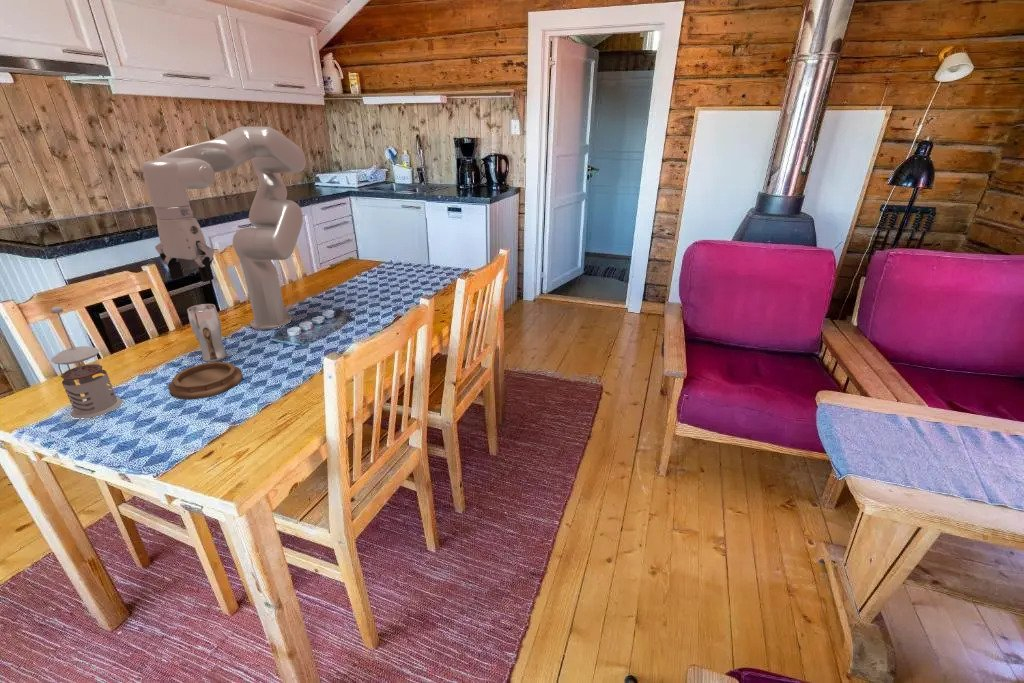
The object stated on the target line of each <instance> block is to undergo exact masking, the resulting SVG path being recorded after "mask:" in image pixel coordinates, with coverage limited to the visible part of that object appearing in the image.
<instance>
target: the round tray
mask: <svg viewBox="0 0 1024 683" xmlns="http://www.w3.org/2000/svg"><path fill="white" fill-rule="evenodd" d="M243 377H244V376H243V372H242V370H241V368H239V367H238V366H236V365H234V364H233V363H232V362H227V361H213V362H204V363H200V364H196V365H193V366H190V367H187V368H185V369H183V370H182V371H179V372H177V373H176V374H175V375H174V377H173V378H172V380H171V382H169V384H168V390H169V394H170V395H171V396H172V397H174V398H176V399H180V400H181V399H182V400H198V399H204V398H209V397H213V396H215V395H219V394H222V393H225V392H226V391H228V390H231V389H233V388H235V386H237V385H238V384H239V383H240V382H241V381H242V380H243Z"/></svg>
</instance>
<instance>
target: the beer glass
mask: <svg viewBox="0 0 1024 683" xmlns="http://www.w3.org/2000/svg"><path fill="white" fill-rule="evenodd" d="M186 310H187V314H188V315H187V317H188V320H189V325H190V328H191V330H192V332H193V335H194V337H195V338H196V340H197V342H198V344H199V347H200V349H201V358H202V361H204V362H205V363H209V362H219V361H221V360H223V359H225V358H227V356H228V353H227V351H226V349H225V347H224V344H223V334H222V323H221V318H220V317H219V312H218V311H217V307H216V305H215V304H213V303H201V304H196V305H193V306H190V307H188V308H187V309H186Z"/></svg>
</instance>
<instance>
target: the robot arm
mask: <svg viewBox="0 0 1024 683" xmlns="http://www.w3.org/2000/svg"><path fill="white" fill-rule="evenodd" d="M248 161H251V164H252V166H253V169H254V170H255V175H256V177H257V181H258V187H257V190H256V193H255V196H254V199H253V201H252V203H251V207H250V209H249V212H248V213H249V214H248V219H249V220H248V221H249V222H250V224H251V225H252V226H253V227H243V228H240V229H239V230H236V232H235V233H234V235H233V237H232V246H233V249H234V251H235V254H236V256H237V258H238V260H239V263H240V266H241V268H242V273H243V277H244V279H245V280H244V281H245V283H246V284H245V285H246V288H247V294H248V298H249V302H250V305H251V309H252V314H253V319H251V321H250V322H249V324H250V328H251V327H252V328H251V329H253V328H255V329H254V330H256V329H261V330H260V331H267V330H266V329H272V330H274V329H273V328H277V327H280V326H283V325H285V324H287V323H289V322H290V321H291V320H292V321H293V318H292V315H291V314H290V315H289V314H288V313H289V312H290V311H292V310H294V308H295V306H294V305H293V304H292V303H290V304H288V305H286V306H285V304H284V299H283V293H282V289H281V285H280V284H281V283H280V279H279V274H278V270H277V267H276V266H275V264H274V263H273V261H285V260H288V259H289V258H291V256H292V255H293V253H294V251H295V247H296V244H297V242H298V239H299V236H300V232H301V230H302V226H303V221H304V220H303V219H304V218H303V211H302V208H301V206H300V205H299V204H298V203H297V202H295V201H293V200H290V199H287V197H288V189H287V186H286V185H285V183H284V182H283V180H282V179H281V177H280V175H279V174H299V173H301V172H303V170H304V169H305V167H306V165H307V160H306V156H305V153H304V152H303V150H302V149H301V148H300V147H299V145H297V144H296V143H295V142H293V141H292V140H291V139H290V138H288V137H287V136H285V135H284V134H283V133H281V132H280V131H279V130H277V129H274V128H273V127H271V126H240V127H236V128H234V129H232V130H229V131H228V132H225V133H224V134H221V135H219V136H218V137H215V138H213V139H210V140H207V141H203V142H198V143H196V144H192V145H188V146H185V147H180V148H178V149H174V150H172V151H170V152H167V153H166V154H163V155H161V156H159V157H158V158H156V159H155V160H148V161H144V162H143V163H142V166H141V169H142V173H143V175H144V176H143V177H144V179H145V184H146V186H147V189H148V193H149V197H150V199H151V203H152V206H153V209H154V212H155V216H156V226H157V232H158V237H159V242H160V243H158V244H157V245H156V246H154V249H155V250H156V251H157V253H158V254H159V257H160V258H161V259H162V260H163V262H164V264H165V265H167V268H168V272H169V275H170V279H171V280H177V279H180V278H184V273H183V270H182V265H181V262H180V261H179V260H190V261H191V260H194V262H195V263H196V264H197V265H198V266H199V267H198V272H199V275H200V279H201V282H202V283H207V282H210V281H212V280H214V279H215V278H214V275H213V271H212V267H211V265H212V264H213V261H214V256H215V250H214V249H213V248H212V247H211V246H208V244H207V242H206V239H205V236H204V234H203V233H204V232H203V231H202V230H203V229H201V225H200V224H199V221H198V220H197V218H195V217H194V215H193V214H194V211H193V210H192V208H191V205H190V200H189V198H188V197H189V196H188V193H187V190H204V189H207V188H210V187H211V186H212V185H213V184H214V182H215V179H216V173H223V172H228V171H229V172H230V171H233V170H234V169H236V168H238V167H240V166H242V165H243V164H244V163H247V162H248ZM264 329H265V330H264ZM277 329H278V328H277Z"/></svg>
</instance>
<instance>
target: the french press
mask: <svg viewBox="0 0 1024 683" xmlns="http://www.w3.org/2000/svg"><path fill="white" fill-rule="evenodd" d="M50 312H51V313H50V314H54V315H55V314H57V316H58V318H59V321H60V323H61V326H62V329H63V330H64V332H65V335H66V338H67V340H68V342H69V345H70V347H69V348H66V349H64V350H61V351H60V352H58V353H57V354H55V355H54V356H53V357H52V358H51V360H50V362H52V364H55V365H57V366H58V370H59V371H60V372H59V373H60V375H61V376H60V378H62V379H63V380H62V382H61V384H62V386H63V389H64V390H65V393H66V395H67V397H68V399H69V403H70V404H71V407H72V410H71V411H70V413H71V416H72V417H74V418H80V419H81V418H91V417H96V416H100V417H102V416H101V415H103V414H105V413H108V412H110V411H112V410H114V411H116V410H117V409H116V408H118V407H119V406H120V405H121V404H122V402H123V403H124V399H122V398H121V397H118V396H117V395H116V392H115V390H114V387H113V385H112V383H111V380H110V376H109V375H108V373H107V371H106V370H105V369H103V365H101V364H97V363H93V364H84V365H81V364H80V363H81V362H85V361H88V360H90V359H93V358H95V357H96V356H97V355H98V354H99V351H100V349H99V348H98V347H93V346H88V345H87V346H86V345H82V346H73V344H72V342H71V339H70V337H69V334H68V332H67V329H66V327H65V324H64V322H63V319H62V317H61V314H60V313H63V312H64V309H63V307H61V306H54V307H52V308H50ZM72 364H78V366H75V367H73V368H70V365H72ZM61 365H66V366H67V369H68V370H66V371H64V372H63V371H62V370H61V367H60V366H61ZM98 374H103V375H99V376H98ZM96 375H97V376H96ZM93 376H95V377H93ZM76 382H77V383H78V384H76ZM110 389H111V390H110ZM82 395H84V396H82ZM120 398H121V399H120ZM84 400H85V401H84ZM122 405H123V404H122ZM122 405H121V406H122ZM121 406H120V407H121ZM120 407H119V408H120ZM119 408H118V409H119ZM115 409H116V410H115ZM108 414H109V413H108ZM103 416H104V415H103ZM96 418H97V417H96Z"/></svg>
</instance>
